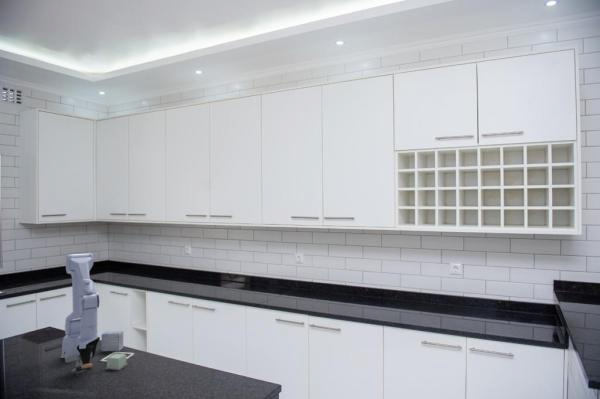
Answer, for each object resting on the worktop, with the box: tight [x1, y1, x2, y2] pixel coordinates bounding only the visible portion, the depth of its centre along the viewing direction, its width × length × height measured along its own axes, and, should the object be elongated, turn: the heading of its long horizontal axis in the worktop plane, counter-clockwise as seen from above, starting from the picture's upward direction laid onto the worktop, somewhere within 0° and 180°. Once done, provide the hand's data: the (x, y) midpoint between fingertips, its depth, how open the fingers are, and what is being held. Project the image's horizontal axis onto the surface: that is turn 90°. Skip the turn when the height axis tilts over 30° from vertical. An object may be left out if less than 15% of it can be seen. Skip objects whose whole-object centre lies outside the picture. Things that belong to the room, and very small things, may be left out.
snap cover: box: [106, 353, 127, 370], centre depth 154 cm, size 5×5×4 cm
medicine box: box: [101, 330, 124, 352], centre depth 171 cm, size 8×4×9 cm, turn 92°
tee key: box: [64, 351, 93, 371], centre depth 150 cm, size 9×2×6 cm, turn 131°
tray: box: [99, 351, 136, 363], centre depth 162 cm, size 10×10×2 cm
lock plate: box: [71, 363, 128, 374], centre depth 151 cm, size 22×12×1 cm, turn 81°
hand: (88, 360), depth 150 cm, fingers open, 5 cm apart
